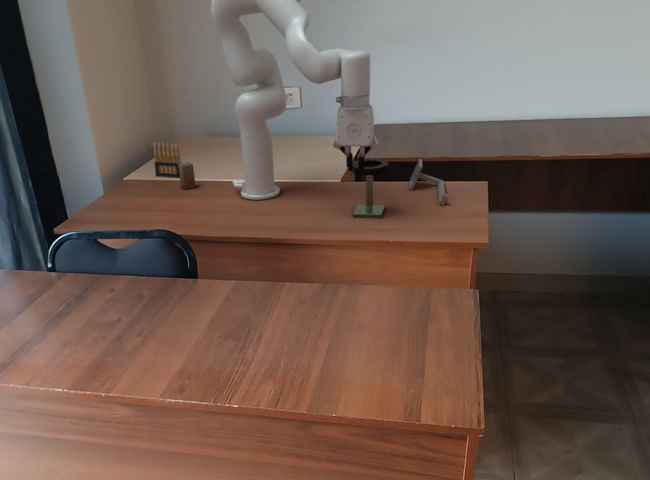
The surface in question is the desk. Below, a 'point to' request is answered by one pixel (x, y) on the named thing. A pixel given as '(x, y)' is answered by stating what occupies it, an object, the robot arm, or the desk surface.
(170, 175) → the ammunition clip
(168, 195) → the desk surface
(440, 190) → the toilet paper hanger
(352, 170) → the black ring
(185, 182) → the wooden block
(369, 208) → the post
